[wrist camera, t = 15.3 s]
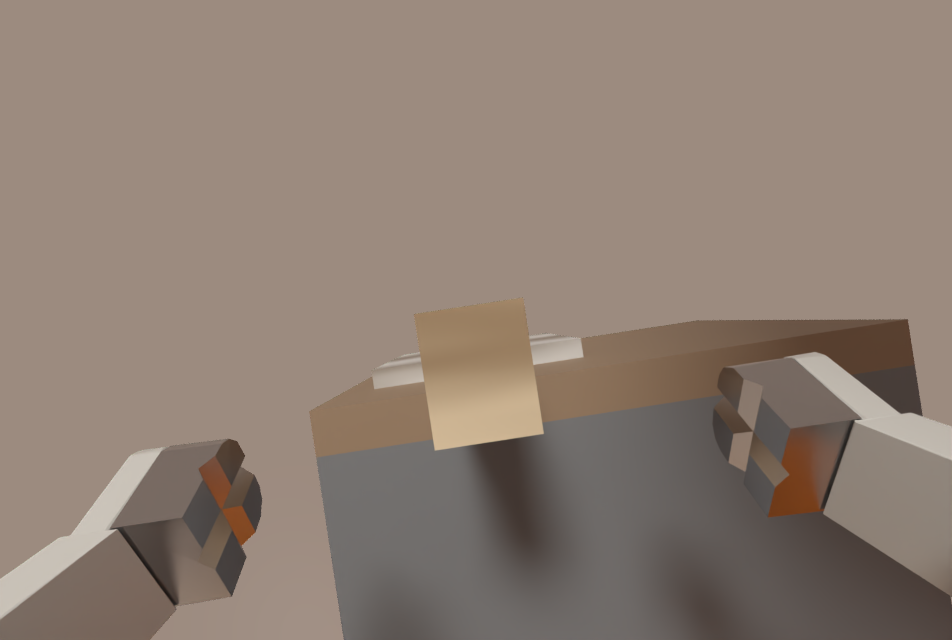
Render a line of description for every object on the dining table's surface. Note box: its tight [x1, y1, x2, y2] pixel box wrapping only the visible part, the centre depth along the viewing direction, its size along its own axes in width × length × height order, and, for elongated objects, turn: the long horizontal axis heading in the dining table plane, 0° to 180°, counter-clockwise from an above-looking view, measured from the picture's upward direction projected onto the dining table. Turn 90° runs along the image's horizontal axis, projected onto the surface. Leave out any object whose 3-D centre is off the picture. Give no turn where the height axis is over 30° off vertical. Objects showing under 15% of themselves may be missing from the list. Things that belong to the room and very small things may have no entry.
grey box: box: [309, 319, 952, 640], centre depth 25 cm, size 21×16×26 cm
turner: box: [372, 298, 583, 451], centre depth 20 cm, size 22×9×2 cm, turn 1°
